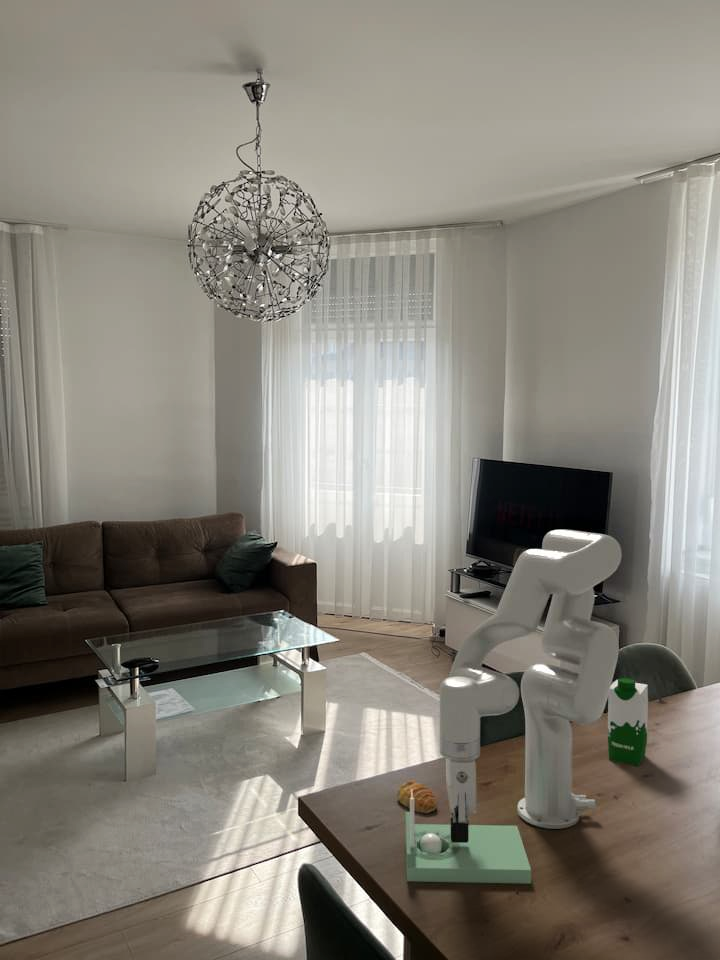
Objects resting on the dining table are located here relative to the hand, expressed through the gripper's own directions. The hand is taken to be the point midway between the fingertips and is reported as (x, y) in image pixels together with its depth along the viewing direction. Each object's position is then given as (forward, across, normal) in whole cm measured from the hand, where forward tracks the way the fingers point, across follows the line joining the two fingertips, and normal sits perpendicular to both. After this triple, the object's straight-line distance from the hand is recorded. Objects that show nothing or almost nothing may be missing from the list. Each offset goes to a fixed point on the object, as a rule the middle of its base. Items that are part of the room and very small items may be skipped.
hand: (459, 839), depth 142 cm
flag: (+4, -3, +9) cm, 10 cm away
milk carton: (+4, +45, -45) cm, 64 cm away
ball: (+1, 0, +5) cm, 6 cm away
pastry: (+4, +21, +7) cm, 23 cm away
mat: (+4, 0, -1) cm, 4 cm away
